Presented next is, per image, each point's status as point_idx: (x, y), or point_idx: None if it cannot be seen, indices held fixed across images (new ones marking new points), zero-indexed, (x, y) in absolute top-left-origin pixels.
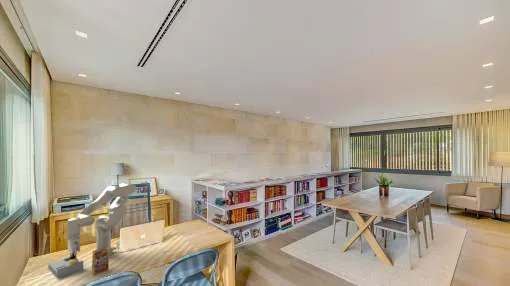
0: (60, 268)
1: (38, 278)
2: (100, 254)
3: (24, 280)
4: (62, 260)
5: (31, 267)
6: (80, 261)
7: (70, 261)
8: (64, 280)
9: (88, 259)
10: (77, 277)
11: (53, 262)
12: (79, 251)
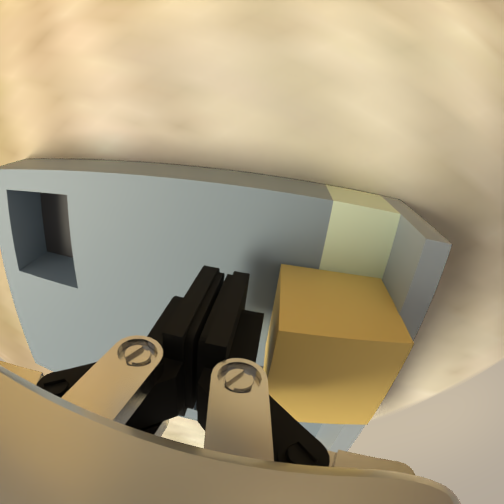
0: None
1: (194, 435)
2: None
3: None
4: (33, 288)
5: (8, 359)
6: (424, 285)
7: (331, 423)
8: (426, 390)
9: (161, 21)
10: (493, 323)
11: (35, 341)
12: (444, 490)
